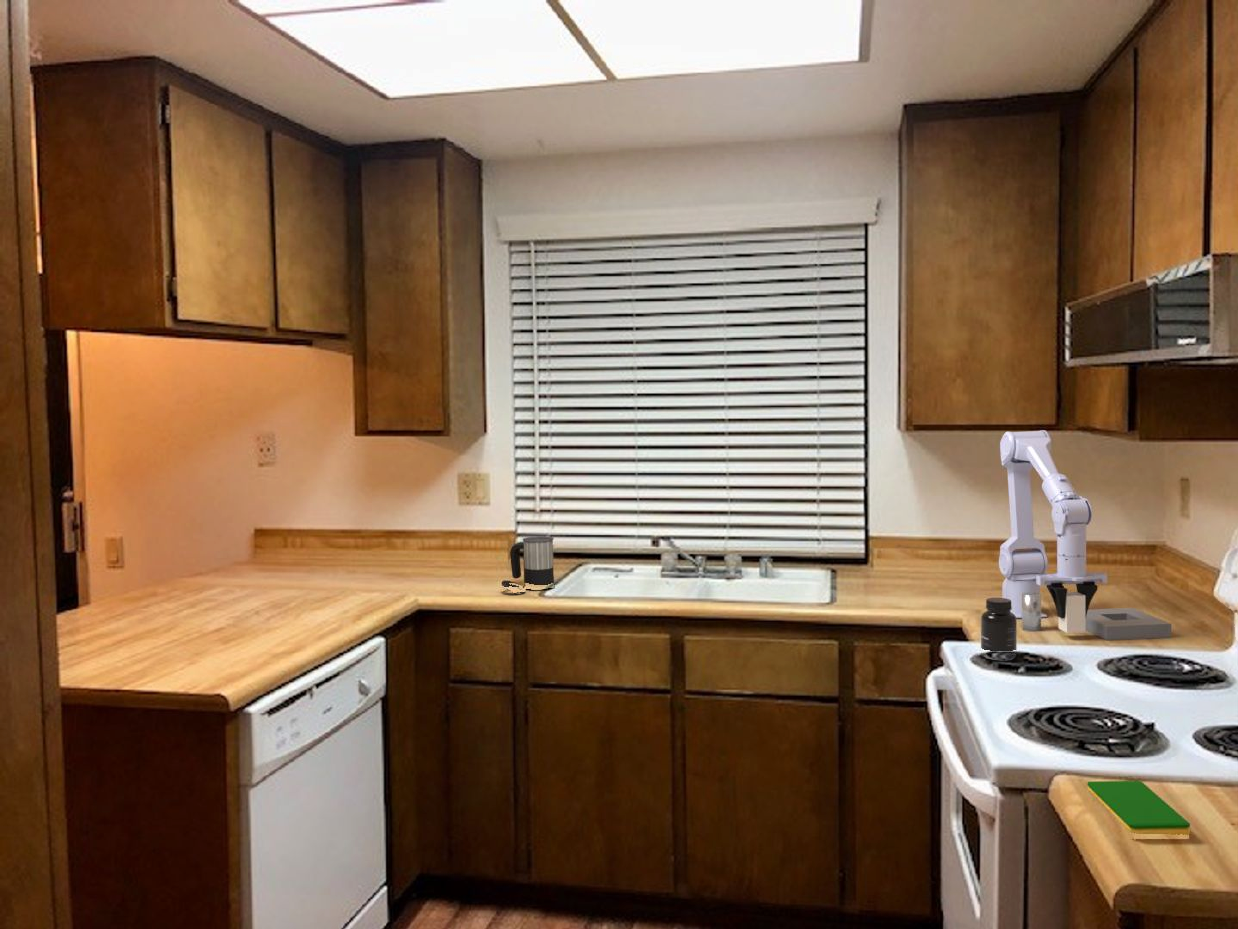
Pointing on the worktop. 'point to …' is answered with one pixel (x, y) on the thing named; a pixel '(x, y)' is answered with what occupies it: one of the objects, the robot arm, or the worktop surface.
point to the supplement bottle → (998, 626)
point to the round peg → (1031, 611)
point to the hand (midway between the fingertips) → (1071, 617)
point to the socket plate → (1125, 624)
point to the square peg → (1073, 613)
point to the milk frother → (533, 561)
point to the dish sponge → (1139, 808)
